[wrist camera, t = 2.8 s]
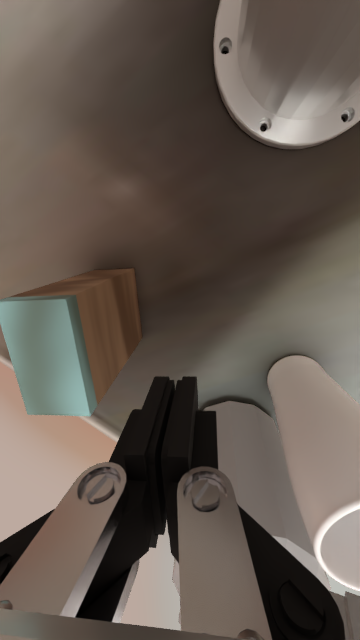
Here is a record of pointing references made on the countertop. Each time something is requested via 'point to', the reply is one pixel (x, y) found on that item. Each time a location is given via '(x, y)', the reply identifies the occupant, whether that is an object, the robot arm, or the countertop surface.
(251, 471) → the jar
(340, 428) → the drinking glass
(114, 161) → the countertop surface
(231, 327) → the countertop surface
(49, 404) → the wooden block
